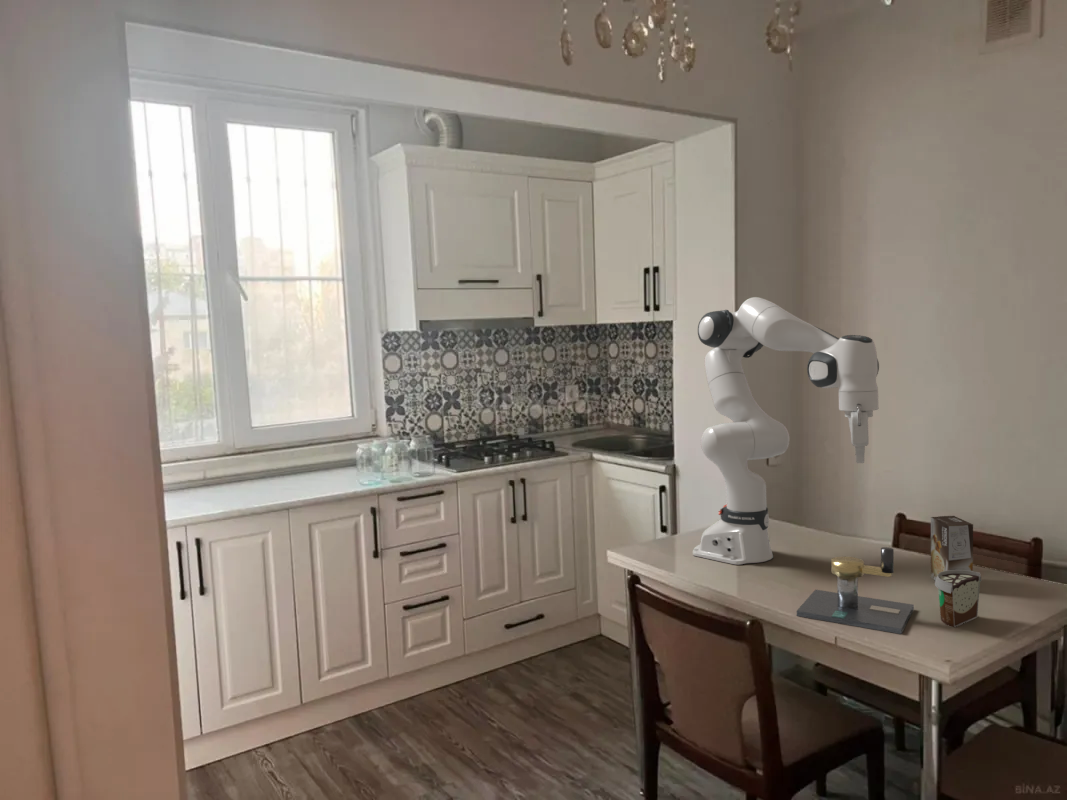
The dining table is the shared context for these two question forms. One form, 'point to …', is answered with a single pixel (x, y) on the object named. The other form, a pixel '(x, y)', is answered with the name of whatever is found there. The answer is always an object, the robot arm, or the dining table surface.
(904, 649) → the dining table surface
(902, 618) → the labelled display base
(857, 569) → the brass crank knob
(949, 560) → the coffee box
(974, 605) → the food container
